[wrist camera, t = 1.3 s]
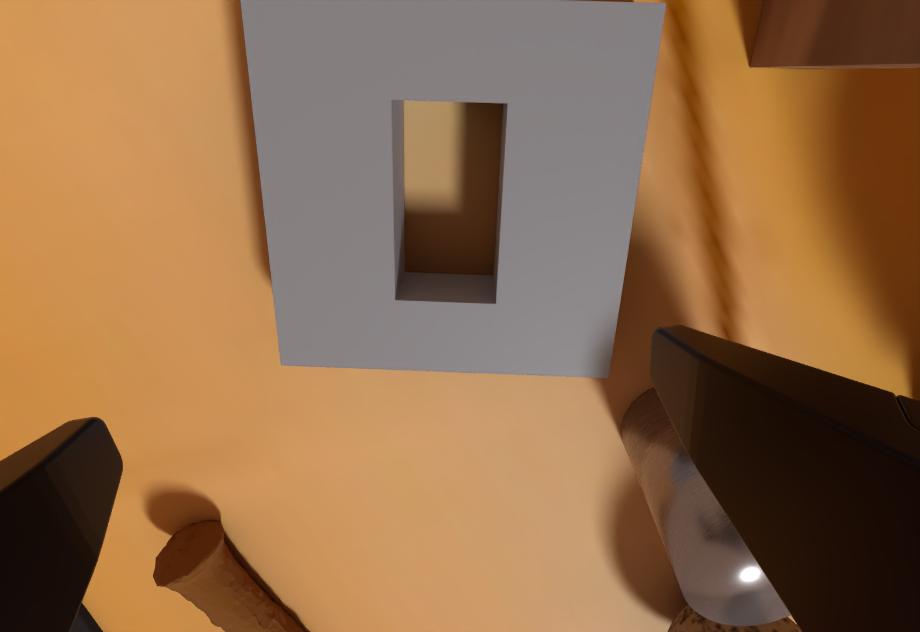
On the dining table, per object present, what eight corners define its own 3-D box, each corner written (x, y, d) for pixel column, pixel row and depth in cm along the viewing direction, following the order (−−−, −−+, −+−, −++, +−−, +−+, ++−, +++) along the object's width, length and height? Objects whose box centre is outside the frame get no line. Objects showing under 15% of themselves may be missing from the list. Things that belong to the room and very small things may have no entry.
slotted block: (637, 13, 18) (665, 3, 16) (593, 341, 23) (608, 378, 20) (274, 2, 19) (238, -10, 16) (304, 330, 23) (280, 365, 21)
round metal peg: (735, 384, 24) (850, 523, 17) (713, 469, 26) (807, 629, 18) (629, 380, 24) (696, 516, 17) (614, 465, 26) (668, 622, 18)
